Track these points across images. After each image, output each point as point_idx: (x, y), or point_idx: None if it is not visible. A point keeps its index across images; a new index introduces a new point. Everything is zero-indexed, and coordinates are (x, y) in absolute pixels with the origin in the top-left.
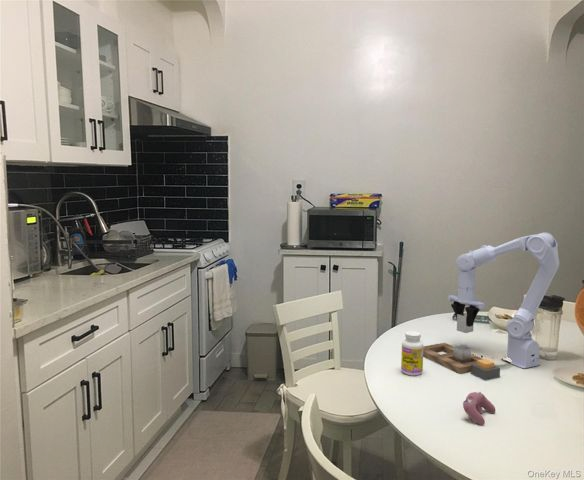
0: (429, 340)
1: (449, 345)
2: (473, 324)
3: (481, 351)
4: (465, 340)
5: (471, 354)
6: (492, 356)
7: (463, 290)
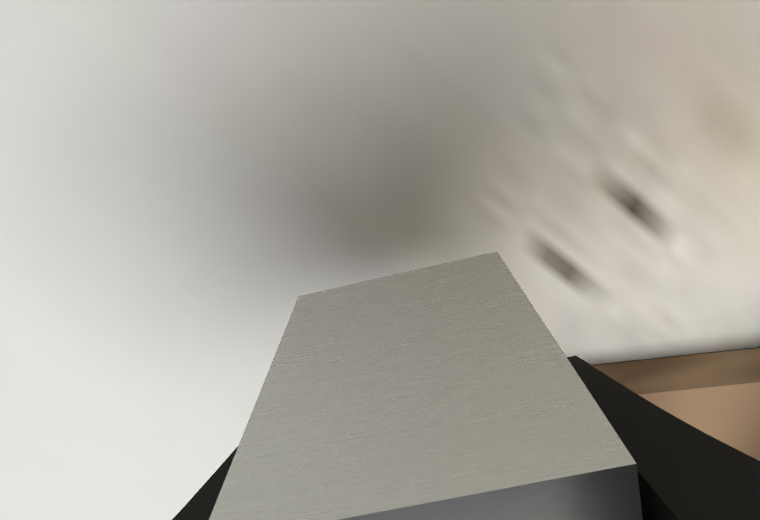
0: (42, 401)
1: None
2: (528, 302)
3: (514, 105)
4: (100, 22)
5: (703, 399)
6: (697, 96)
7: None
